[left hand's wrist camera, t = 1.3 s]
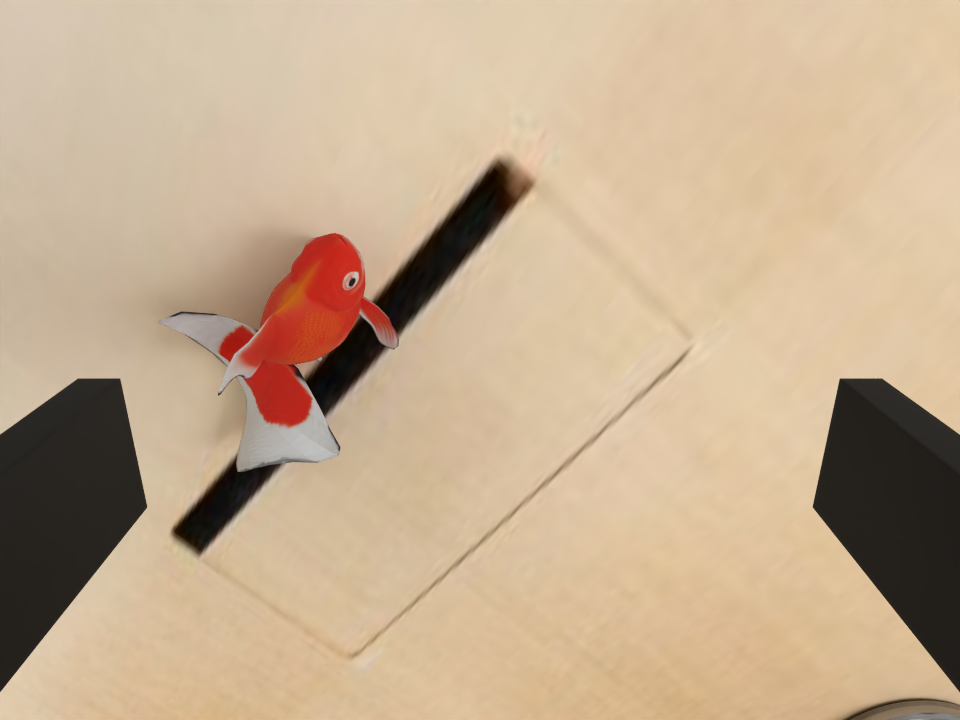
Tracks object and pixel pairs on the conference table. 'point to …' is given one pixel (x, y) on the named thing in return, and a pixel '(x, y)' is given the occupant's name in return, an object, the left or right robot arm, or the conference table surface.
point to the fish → (290, 351)
